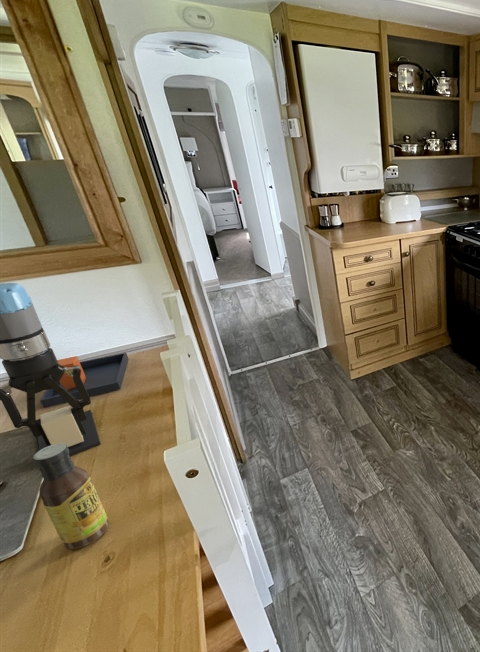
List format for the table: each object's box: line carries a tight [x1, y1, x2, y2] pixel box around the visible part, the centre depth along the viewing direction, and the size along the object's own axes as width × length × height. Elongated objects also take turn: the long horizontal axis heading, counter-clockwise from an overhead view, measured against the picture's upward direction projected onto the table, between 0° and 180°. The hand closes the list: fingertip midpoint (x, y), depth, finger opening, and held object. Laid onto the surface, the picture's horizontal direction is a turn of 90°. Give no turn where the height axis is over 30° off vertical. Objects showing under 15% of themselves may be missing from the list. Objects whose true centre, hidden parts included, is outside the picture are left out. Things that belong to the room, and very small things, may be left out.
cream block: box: [39, 405, 84, 447], centre depth 89 cm, size 5×5×8 cm
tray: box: [39, 352, 129, 409], centre depth 115 cm, size 21×16×3 cm
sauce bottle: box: [32, 443, 109, 550], centre depth 67 cm, size 6×6×20 cm
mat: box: [37, 409, 102, 457], centre depth 94 cm, size 10×18×1 cm, turn 48°
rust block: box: [57, 355, 86, 390], centre depth 112 cm, size 5×5×8 cm
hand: (66, 437), depth 90 cm, fingers closed on cream block, 5 cm apart
